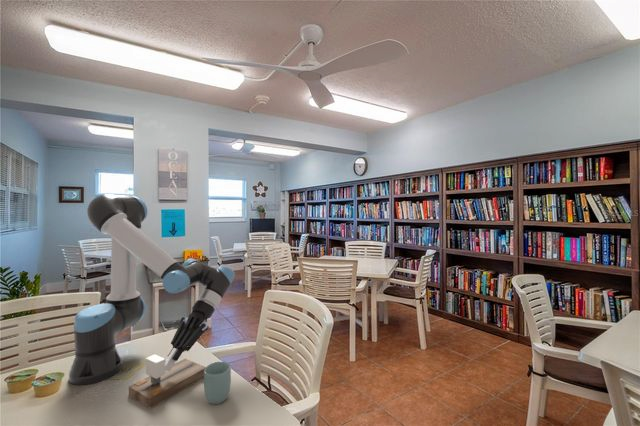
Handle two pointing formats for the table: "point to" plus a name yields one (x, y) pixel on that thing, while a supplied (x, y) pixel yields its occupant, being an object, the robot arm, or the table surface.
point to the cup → (217, 382)
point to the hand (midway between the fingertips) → (165, 369)
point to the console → (167, 383)
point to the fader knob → (155, 368)
